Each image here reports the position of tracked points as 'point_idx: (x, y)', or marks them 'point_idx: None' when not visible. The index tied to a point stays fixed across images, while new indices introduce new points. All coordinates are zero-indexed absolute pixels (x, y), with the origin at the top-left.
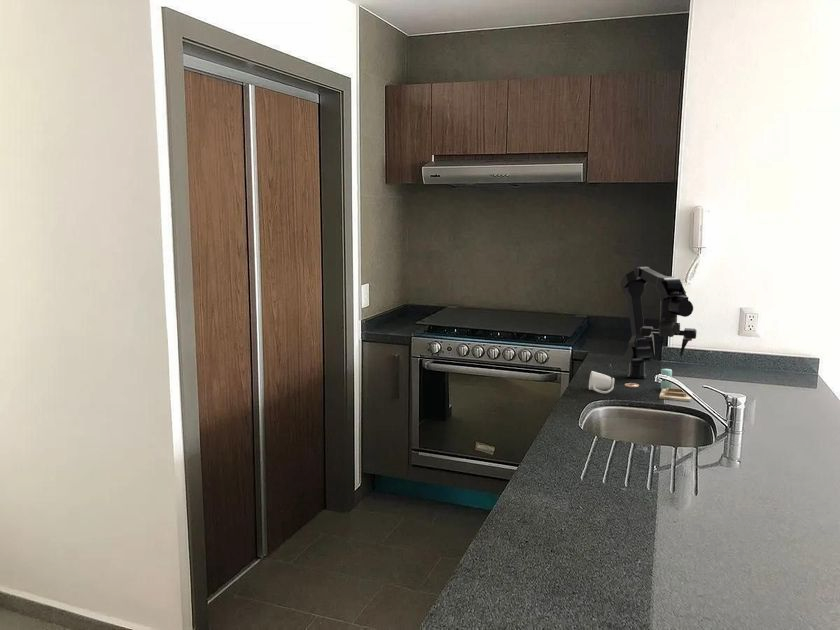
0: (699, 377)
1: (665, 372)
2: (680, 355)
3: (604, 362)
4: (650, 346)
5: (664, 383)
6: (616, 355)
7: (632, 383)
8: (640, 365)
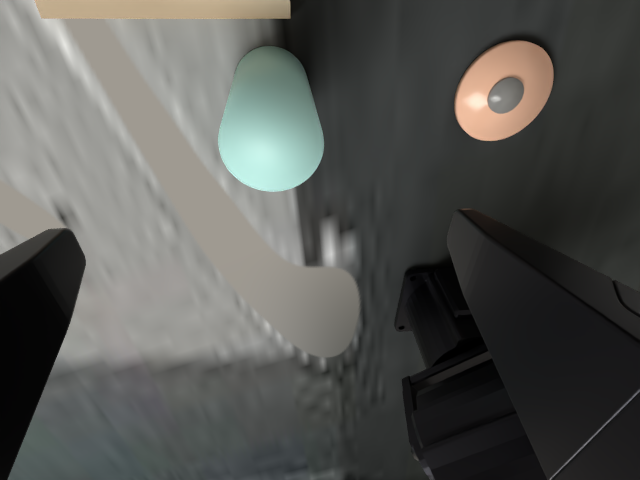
0: (166, 369)
1: (275, 87)
2: (49, 238)
3: None
4: (615, 283)
5: (279, 59)
6: None
7: (492, 131)
8: (454, 324)
